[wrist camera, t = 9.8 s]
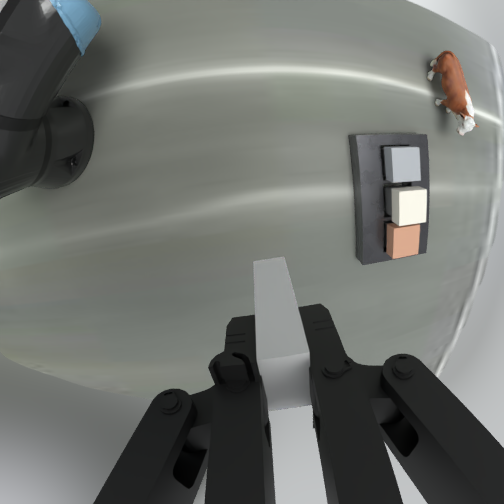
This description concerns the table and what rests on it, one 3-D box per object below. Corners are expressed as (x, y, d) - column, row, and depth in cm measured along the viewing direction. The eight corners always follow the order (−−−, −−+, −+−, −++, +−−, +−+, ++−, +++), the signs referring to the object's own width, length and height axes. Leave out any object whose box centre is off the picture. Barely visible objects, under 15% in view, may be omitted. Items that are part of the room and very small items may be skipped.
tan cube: (378, 217, 39) (393, 228, 34) (403, 214, 39) (420, 224, 34) (378, 245, 41) (392, 259, 36) (402, 241, 41) (418, 254, 36)
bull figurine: (435, 133, 34) (467, 136, 27) (420, 55, 29) (449, 46, 21) (453, 133, 34) (484, 137, 26) (439, 58, 28) (468, 51, 21)
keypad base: (348, 135, 35) (356, 135, 32) (416, 133, 34) (427, 134, 32) (356, 256, 42) (362, 265, 40) (417, 245, 42) (426, 252, 39)
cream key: (381, 184, 36) (399, 191, 31) (407, 182, 35) (426, 189, 30) (382, 214, 37) (399, 226, 33) (408, 211, 37) (425, 222, 32)
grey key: (374, 145, 35) (391, 147, 30) (400, 144, 35) (419, 147, 30) (377, 176, 37) (393, 182, 32) (402, 174, 36) (420, 180, 32)
